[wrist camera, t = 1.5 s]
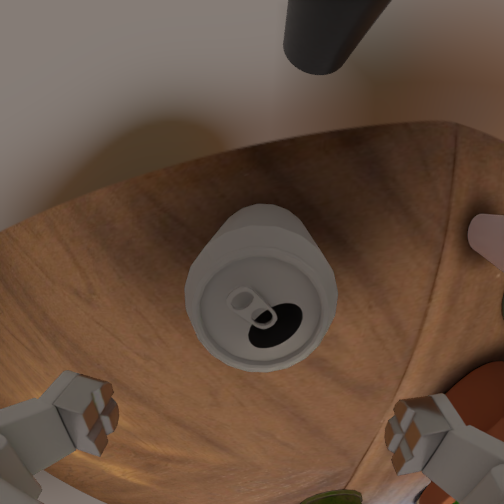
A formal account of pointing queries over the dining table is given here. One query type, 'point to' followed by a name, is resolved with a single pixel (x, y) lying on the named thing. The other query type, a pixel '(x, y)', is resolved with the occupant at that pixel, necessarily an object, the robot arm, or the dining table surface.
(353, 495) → the lantern
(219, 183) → the dining table surface
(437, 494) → the potted cactus
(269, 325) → the can
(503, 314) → the cup stack
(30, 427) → the robot arm
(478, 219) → the smoothie
